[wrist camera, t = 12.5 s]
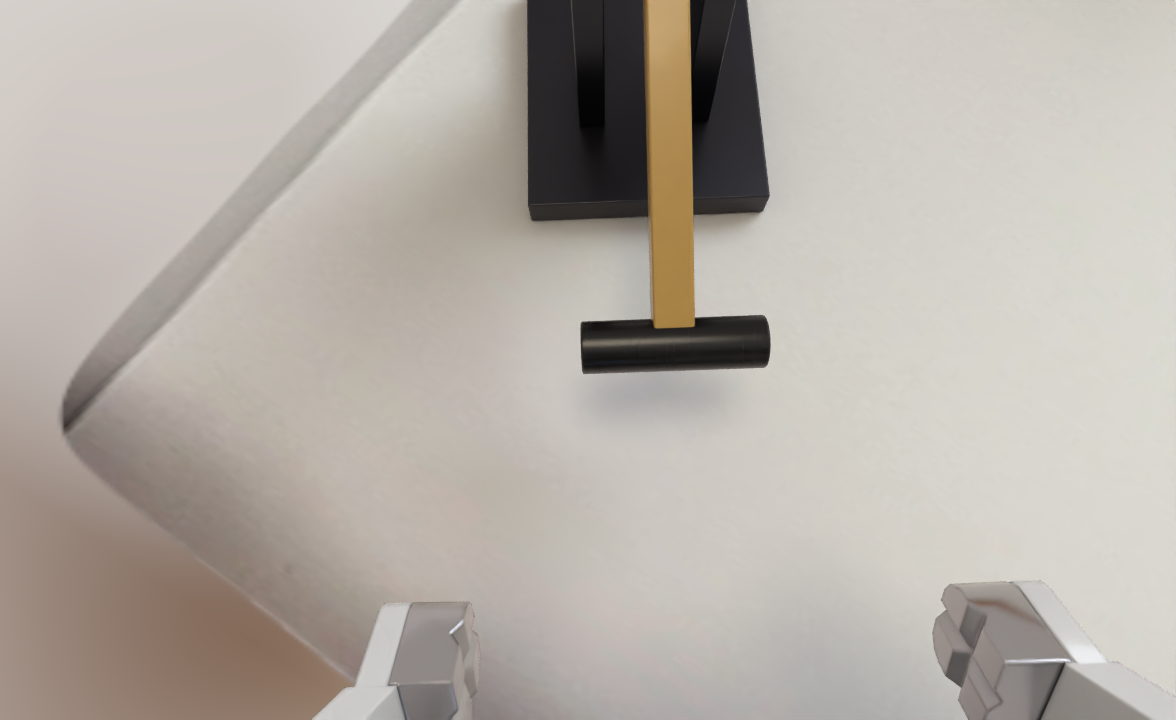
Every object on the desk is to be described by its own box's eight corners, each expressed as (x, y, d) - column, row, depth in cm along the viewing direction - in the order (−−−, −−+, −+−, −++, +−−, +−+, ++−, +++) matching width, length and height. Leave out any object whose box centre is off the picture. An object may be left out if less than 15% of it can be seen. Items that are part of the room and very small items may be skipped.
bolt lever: (754, 360, 20) (775, 374, 18) (583, 366, 20) (581, 381, 18) (753, -258, 18) (777, -338, 15) (559, -248, 18) (553, -325, 15)
